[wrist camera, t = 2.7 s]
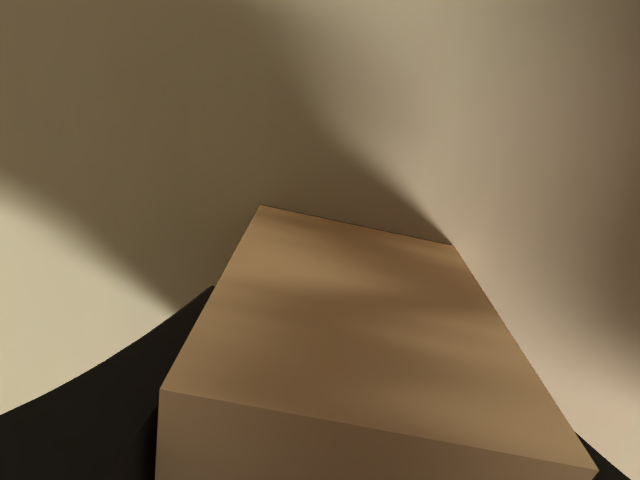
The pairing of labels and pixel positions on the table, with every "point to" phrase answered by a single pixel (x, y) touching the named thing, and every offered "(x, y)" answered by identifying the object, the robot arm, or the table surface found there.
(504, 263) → the table surface
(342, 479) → the oak block
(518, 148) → the table surface
